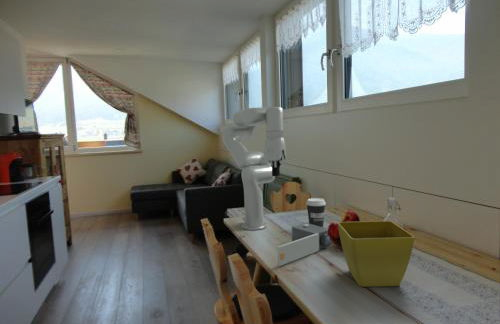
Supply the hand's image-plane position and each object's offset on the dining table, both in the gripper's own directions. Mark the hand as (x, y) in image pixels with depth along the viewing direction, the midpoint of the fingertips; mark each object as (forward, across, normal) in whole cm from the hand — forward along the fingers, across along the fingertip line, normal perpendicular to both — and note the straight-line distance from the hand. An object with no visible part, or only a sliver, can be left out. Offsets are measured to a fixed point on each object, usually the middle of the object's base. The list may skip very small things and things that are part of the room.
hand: (275, 175), depth 151 cm
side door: (+29, +24, -10) cm, 38 cm away
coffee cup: (+29, +3, +23) cm, 37 cm away
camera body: (+29, +15, +6) cm, 33 cm away
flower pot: (+29, +51, -4) cm, 59 cm away
